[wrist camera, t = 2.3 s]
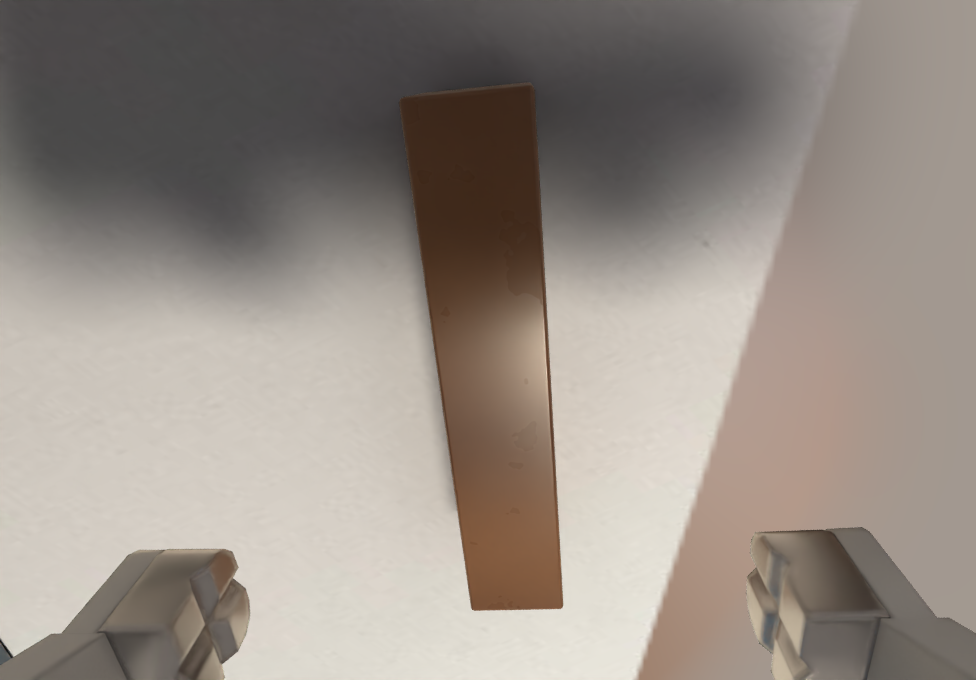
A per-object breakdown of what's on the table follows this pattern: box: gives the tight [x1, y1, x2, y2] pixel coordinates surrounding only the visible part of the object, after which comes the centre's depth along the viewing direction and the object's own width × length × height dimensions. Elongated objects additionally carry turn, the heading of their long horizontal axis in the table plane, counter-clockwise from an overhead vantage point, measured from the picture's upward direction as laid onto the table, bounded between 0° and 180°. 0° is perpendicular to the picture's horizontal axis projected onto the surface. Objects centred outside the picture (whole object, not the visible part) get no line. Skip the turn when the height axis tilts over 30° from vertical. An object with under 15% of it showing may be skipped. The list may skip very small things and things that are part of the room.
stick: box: [399, 82, 563, 611], centre depth 15 cm, size 13×2×3 cm, turn 5°
